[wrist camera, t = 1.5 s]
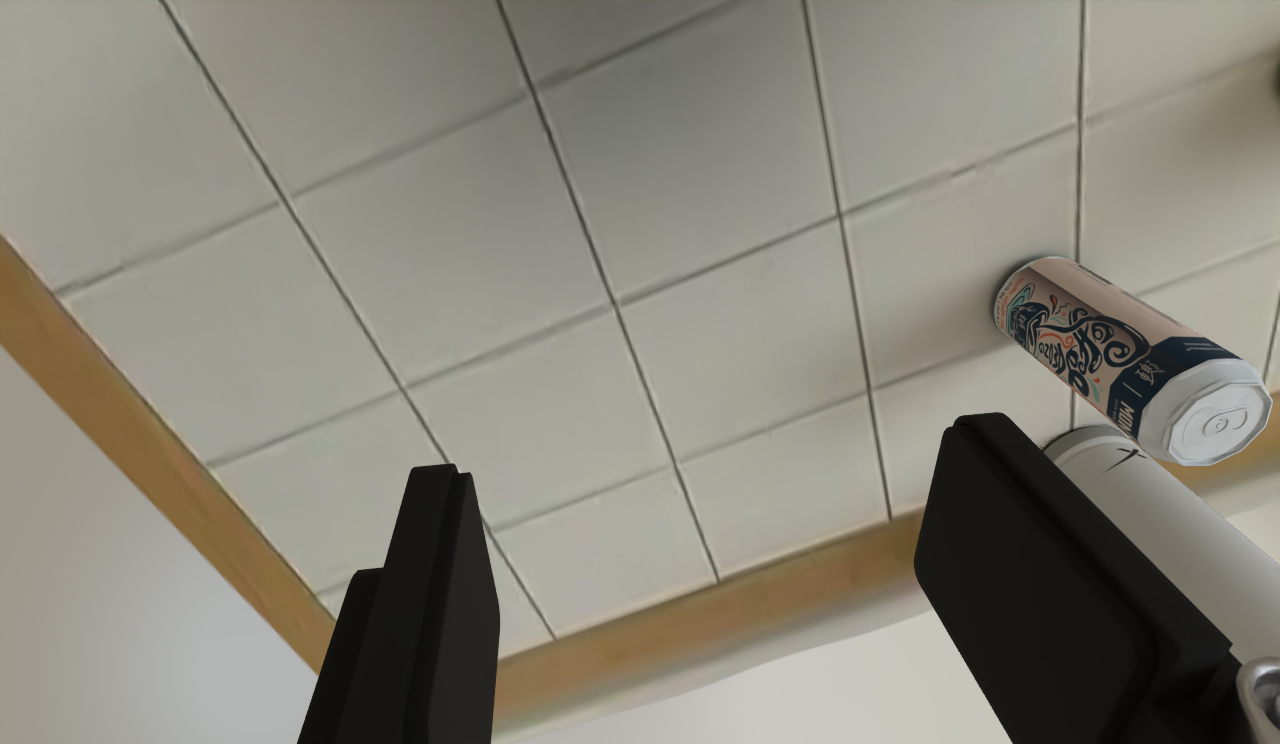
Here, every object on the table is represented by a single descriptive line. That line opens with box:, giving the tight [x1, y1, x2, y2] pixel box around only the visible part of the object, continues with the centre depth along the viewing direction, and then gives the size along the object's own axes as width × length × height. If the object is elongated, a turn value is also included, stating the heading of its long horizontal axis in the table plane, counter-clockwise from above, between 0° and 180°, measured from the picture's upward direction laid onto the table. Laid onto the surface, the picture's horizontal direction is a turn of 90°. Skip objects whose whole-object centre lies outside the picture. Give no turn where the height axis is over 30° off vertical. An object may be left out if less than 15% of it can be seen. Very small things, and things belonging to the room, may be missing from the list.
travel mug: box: [1043, 426, 1280, 665], centre depth 35 cm, size 6×7×20 cm
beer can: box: [994, 256, 1273, 466], centre depth 31 cm, size 5×5×12 cm
